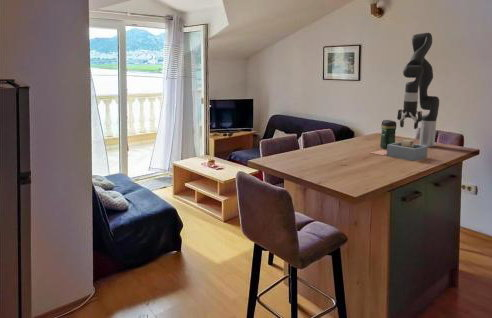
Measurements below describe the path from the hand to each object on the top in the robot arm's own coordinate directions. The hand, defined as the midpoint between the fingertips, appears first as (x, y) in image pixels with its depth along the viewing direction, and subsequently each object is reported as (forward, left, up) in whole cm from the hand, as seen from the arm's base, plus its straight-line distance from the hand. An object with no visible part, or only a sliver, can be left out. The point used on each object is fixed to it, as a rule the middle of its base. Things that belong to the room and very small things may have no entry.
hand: (408, 128), depth 243 cm
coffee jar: (-14, -22, -18) cm, 31 cm away
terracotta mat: (+2, -15, -17) cm, 23 cm away
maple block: (0, 0, -14) cm, 14 cm away
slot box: (0, 0, -17) cm, 17 cm away
